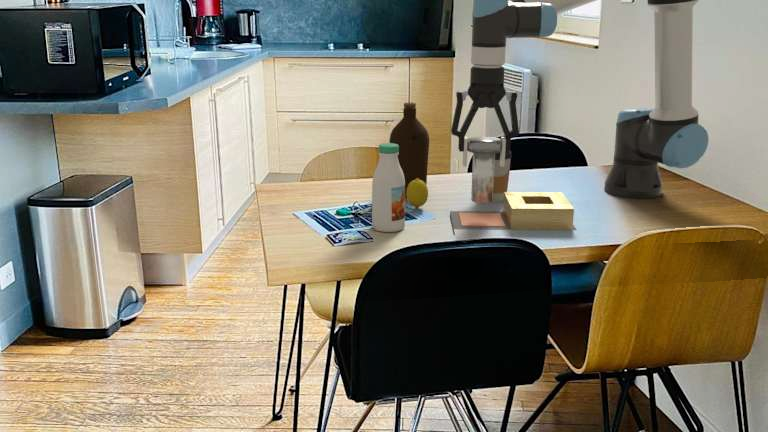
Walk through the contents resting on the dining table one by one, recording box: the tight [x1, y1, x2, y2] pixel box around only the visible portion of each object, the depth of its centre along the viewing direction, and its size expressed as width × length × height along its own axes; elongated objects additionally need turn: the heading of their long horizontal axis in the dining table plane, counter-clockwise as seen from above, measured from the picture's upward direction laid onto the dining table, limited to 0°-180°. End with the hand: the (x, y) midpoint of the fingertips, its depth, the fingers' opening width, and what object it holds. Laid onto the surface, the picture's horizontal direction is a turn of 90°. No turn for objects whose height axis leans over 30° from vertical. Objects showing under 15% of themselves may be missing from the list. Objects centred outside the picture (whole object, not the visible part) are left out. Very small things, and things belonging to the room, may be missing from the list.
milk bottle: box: [371, 142, 406, 233], centre depth 175 cm, size 8×8×20 cm
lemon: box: [406, 178, 429, 209], centre depth 192 cm, size 6×6×8 cm
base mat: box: [449, 210, 577, 236], centre depth 179 cm, size 28×14×2 cm, turn 89°
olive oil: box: [389, 102, 430, 200], centre depth 202 cm, size 11×11×25 cm
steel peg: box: [467, 136, 502, 204], centre depth 175 cm, size 8×8×14 cm
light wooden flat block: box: [502, 191, 575, 231], centre depth 178 cm, size 14×14×5 cm
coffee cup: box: [491, 150, 513, 203], centre depth 195 cm, size 8×8×15 cm
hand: (483, 165), depth 175 cm, fingers closed on steel peg, 8 cm apart
